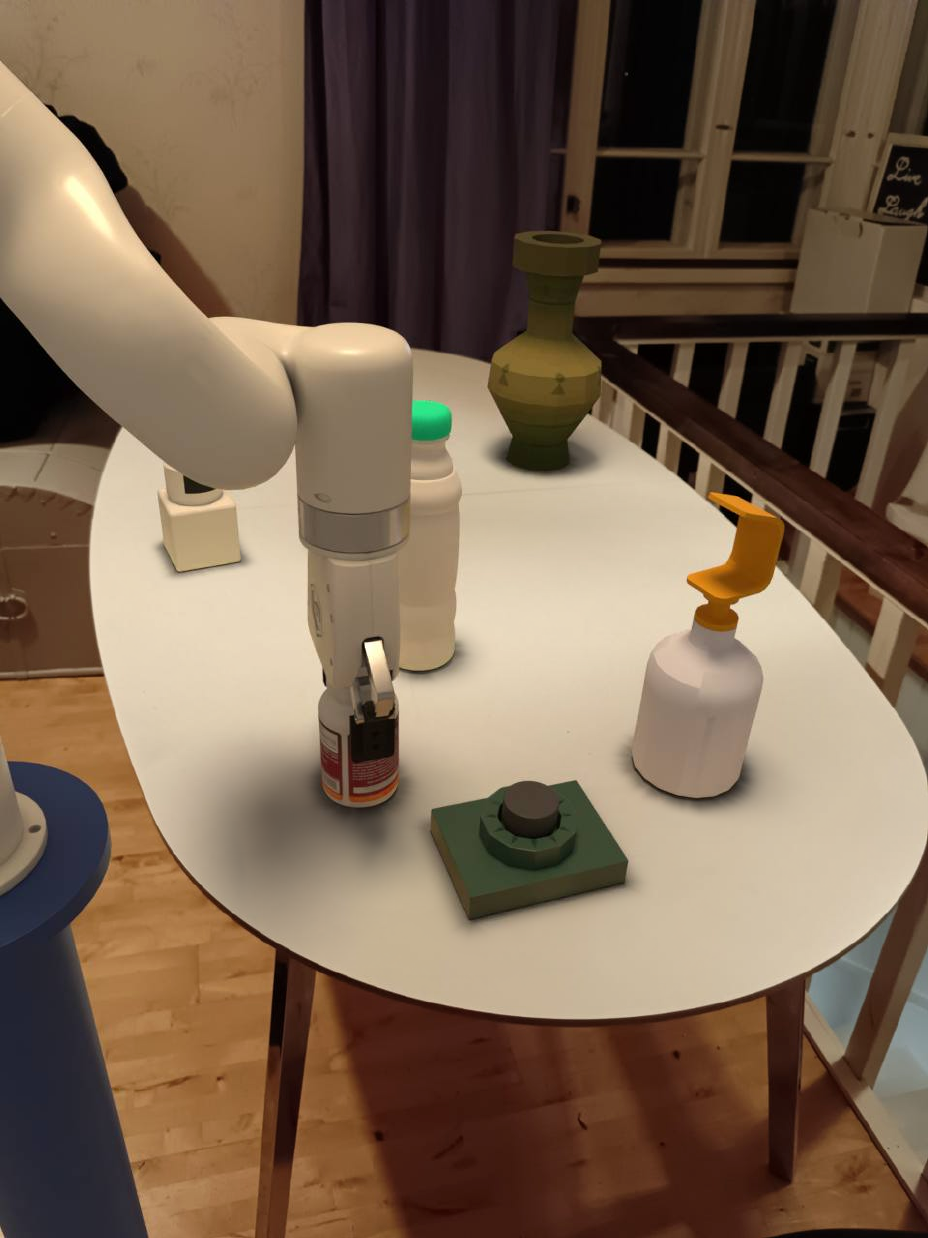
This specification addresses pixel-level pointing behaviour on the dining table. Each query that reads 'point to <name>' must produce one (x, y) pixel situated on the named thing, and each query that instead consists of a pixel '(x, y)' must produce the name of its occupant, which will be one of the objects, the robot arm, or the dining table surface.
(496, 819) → the green button base
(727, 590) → the soap bottle
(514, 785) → the brown push button
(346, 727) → the pill bottle
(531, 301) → the vase
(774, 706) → the dining table surface
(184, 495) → the medicine bottle
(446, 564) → the water bottle
